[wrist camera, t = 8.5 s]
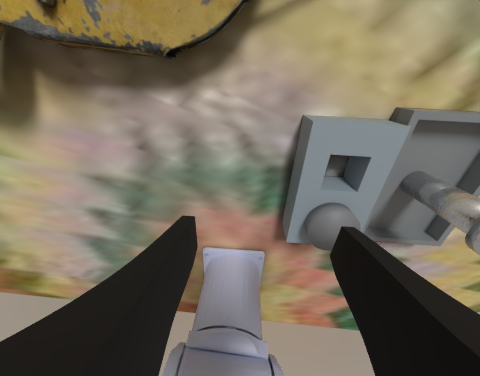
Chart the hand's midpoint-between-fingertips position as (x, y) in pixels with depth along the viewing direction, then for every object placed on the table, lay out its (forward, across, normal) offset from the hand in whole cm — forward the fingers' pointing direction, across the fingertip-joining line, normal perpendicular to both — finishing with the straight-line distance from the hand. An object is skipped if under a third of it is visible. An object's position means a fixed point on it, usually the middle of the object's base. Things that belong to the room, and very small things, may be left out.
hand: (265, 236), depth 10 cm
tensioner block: (+10, -7, +2) cm, 13 cm away
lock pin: (+10, -15, +1) cm, 18 cm away
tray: (+10, -16, +1) cm, 19 cm away
